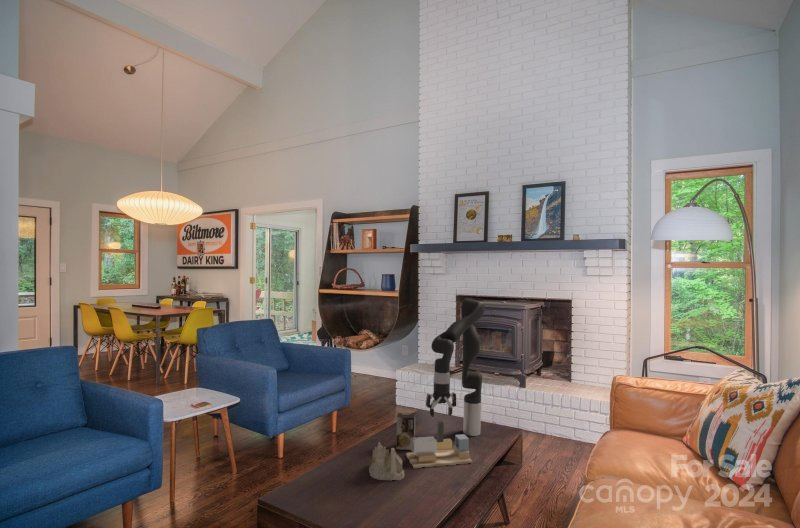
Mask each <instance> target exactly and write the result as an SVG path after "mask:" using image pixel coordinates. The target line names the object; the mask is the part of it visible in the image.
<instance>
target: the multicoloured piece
mask: <svg viewBox="0 0 800 528" xmlns="http://www.w3.org/2000/svg"><path fill="white" fill-rule="evenodd" d="M444 425H445V422H444V421H443V420H437V422H436V438H435V439H436V441H437V450H448V449H453V440H452V439H451V438H444V432H445V430H444V429H445V428H444V427H445V426H444Z"/></svg>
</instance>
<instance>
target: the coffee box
mask: <svg viewBox="0 0 800 528" xmlns="http://www.w3.org/2000/svg"><path fill="white" fill-rule="evenodd" d="M411 438H416V413H412V412H409V413H408V412H397V414H396V438H395V439H396V445H395V446H396V447H395V450H407V451H411Z"/></svg>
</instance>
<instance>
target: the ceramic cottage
mask: <svg viewBox="0 0 800 528" xmlns="http://www.w3.org/2000/svg"><path fill="white" fill-rule="evenodd" d="M386 448H387V447H385V446H384V445H383V444H381V442H380V441H378V443H377V446H375V447H374V449H372V457H371V464H370V465H369V467H368V473H370V474H369V476H370V477H371V478H372V479H375V480H378V481H379V480H380V481H392V480H398V481H401V479H402V480H403V479H405V470H404V469H403V465H404V464H403V459H402V458H401V457H400V455H398V454H397V452H396V448H394V447H391V448H390V450H389V449H386Z"/></svg>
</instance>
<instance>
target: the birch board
mask: <svg viewBox="0 0 800 528" xmlns="http://www.w3.org/2000/svg"><path fill="white" fill-rule="evenodd" d="M435 455H436V462H428V463H418V461H417V459H416V458H415V456H414V454H413V452H412V451H411V452H405V456H406V458H407V460H408V459H409V460H408V461H409V463H410V465H411V464H412V465H411V466H413V467H412V469H421V468H422V467H425V468H433V466H437V467H445V466H446V465H449V466H457V465H456V464H461V465H469V464H468V463H472V464H473V460H472V459H471V458H465V459H459V457H458V456H457V455H456V454H455V453H454V448H452V449H440V450H437V453H435Z"/></svg>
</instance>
